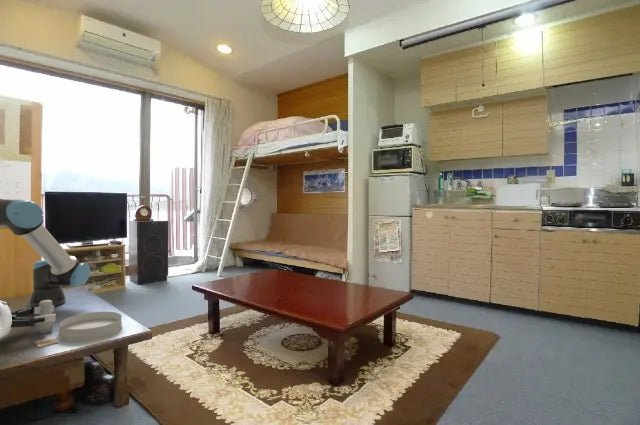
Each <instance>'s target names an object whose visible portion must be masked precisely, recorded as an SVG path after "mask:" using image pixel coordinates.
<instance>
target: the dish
mask: <svg viewBox="0 0 640 425" xmlns="http://www.w3.org/2000/svg"><path fill="white" fill-rule="evenodd" d="M122 323H123V321H122V314H120V313H119V312H113V311H93V312H87V313H81V314H76V315H72V316H70V317H67V318H65V319H63V320H62V321H61V322H60V323H59V330H58V337H59V339H61V340H63V341H65V342H66V341H67V342H86V341H94V340H98V339H99V340H100V339H104V338H106V336H107V337H110V336H112V335H114V334H116V333H118V332H120V331H121V330H122V327H123V326H122V325H123V324H122ZM109 335H110V336H109Z"/></svg>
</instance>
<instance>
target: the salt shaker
mask: <svg viewBox="0 0 640 425" xmlns="http://www.w3.org/2000/svg"><path fill="white" fill-rule="evenodd" d="M51 306H52V301H51V300H43V301H41V302H40V303H39V307H41V310H40V314H38V316H43V315H50V314H53V312H52V311H51ZM35 326H36V328H35V329H36V330H37V331H38V334H47V333H51V332H52V331H53V329H54V327H55V321H51V322H44V323H38V324H36V325H35Z"/></svg>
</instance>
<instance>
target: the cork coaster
mask: <svg viewBox="0 0 640 425" xmlns="http://www.w3.org/2000/svg"><path fill="white" fill-rule="evenodd" d="M56 344H59V341H58V340H57V338H55V337H49V338H45V339H42V340H37V341H34V345H36V347H37V348H38V349H39V348H42V347H49V346H52V345H56Z"/></svg>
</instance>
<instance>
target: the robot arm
mask: <svg viewBox="0 0 640 425" xmlns="http://www.w3.org/2000/svg"><path fill="white" fill-rule="evenodd" d="M43 214H44V211H43V208H42V207H41V206H40V205H39V204H38V203H37V202H34V201H32V200H27V199H2V198H0V227H6V228H8V229H9V230H10V232H11V233H13V234H14V235H16V236H19V237H20V236H21V237H22V238H23V239H24V240H25V241H26V242H27V243H28V244H29V245H30V246H31V248H33V249H34V251H36V252H37V253H38V255H39V256H41V257H42V259H43V260H38V261H35V262H34V264H33V269H32V272H33V273H32V275H33V276H32V277H33V278H32V279H33V280H32V282H33V283H32V284H33V285H32V287H33V288H32V291H31V292H32V293H31V295H30V297H29V300H28V302H27V303H28V304H27V305H28V306H26V307H24V308H23V307H22V308H19V309H14V310H10V311H11V314H12V325H11V327H10V328H28V327H29V328H32V327H35V325H37V324H38V323H44V322H51V321H54V322H56V316H57V315H56V313H53V312H55V307H56V306H61V305H63V304H65V303H66V302H67V301H66V294H65V292H64V289H63V286H66V287H67V286H68V287H69V286H70V287H81V286H83V285H85V283H87V282H88V279H89V278H90V276H91V275H90V274H91V267H90V266H89V265H88V263H84V262H80V261H79V259H77V258H76V257H75V256H73V255H69V254H68V252H67V251H66V250H65V249H64V248H63V246H62V245H61V244H60V243H59V242H58V241H57V239H56V238H55V237H54V236H53V235H52V233H50V232H49V231H48V229H47V228H46V226H44V222H45V221H44V215H43ZM43 300H51V301H52V306H51V311H52V314H50V315H43V316H39V314H40V310H41V307H39V303H40V302H41V301H43ZM30 315H37V316H34V317H28V316H30Z"/></svg>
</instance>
